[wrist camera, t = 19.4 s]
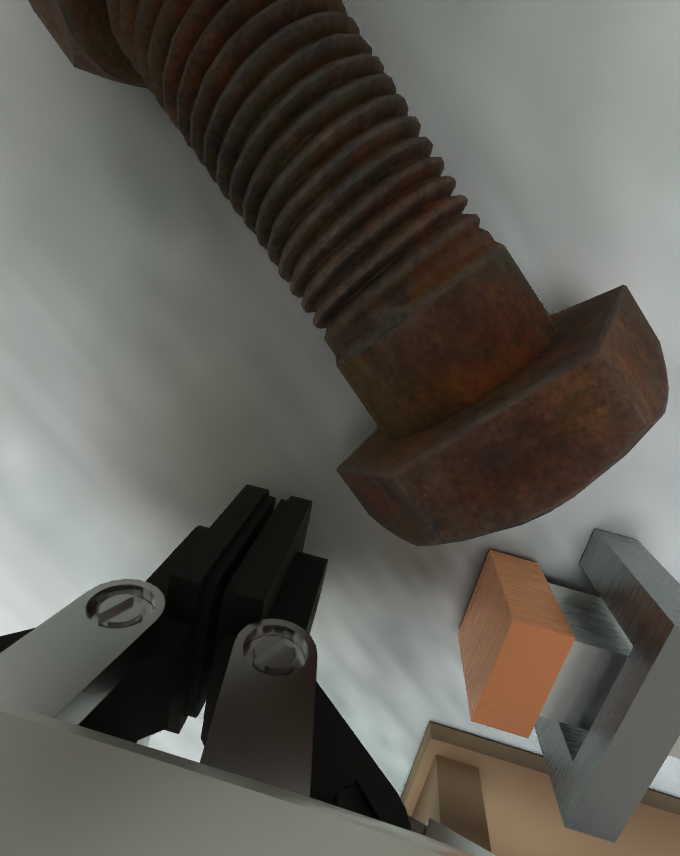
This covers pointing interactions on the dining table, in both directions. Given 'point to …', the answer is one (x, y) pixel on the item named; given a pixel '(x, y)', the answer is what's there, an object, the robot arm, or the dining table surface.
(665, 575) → the pin lugs
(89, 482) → the dining table surface
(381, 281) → the bolt
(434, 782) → the dock
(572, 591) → the pin
